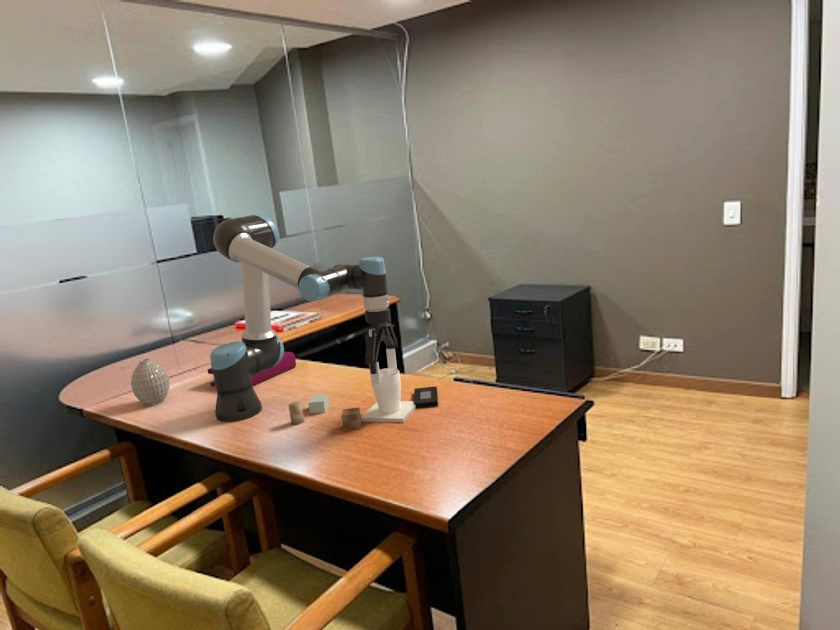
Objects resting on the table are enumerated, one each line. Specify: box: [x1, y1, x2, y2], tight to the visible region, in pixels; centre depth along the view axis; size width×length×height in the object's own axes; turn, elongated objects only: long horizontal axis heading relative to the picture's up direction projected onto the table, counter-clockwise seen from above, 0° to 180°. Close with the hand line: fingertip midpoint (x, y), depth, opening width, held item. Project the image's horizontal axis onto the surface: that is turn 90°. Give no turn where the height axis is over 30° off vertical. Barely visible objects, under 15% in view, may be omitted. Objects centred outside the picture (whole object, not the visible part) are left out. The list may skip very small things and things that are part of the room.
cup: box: [371, 367, 402, 413], centre depth 192 cm, size 9×9×12 cm
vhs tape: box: [413, 385, 439, 410], centre depth 202 cm, size 8×14×2 cm, turn 0°
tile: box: [361, 400, 417, 423], centre depth 194 cm, size 14×14×1 cm
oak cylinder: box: [287, 401, 305, 426], centre depth 195 cm, size 4×4×6 cm
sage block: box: [308, 393, 330, 415], centre depth 204 cm, size 5×7×4 cm
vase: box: [130, 357, 170, 406], centre depth 229 cm, size 13×13×17 cm
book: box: [207, 351, 297, 388], centre depth 249 cm, size 21×28×8 cm
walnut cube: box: [340, 407, 363, 432], centre depth 186 cm, size 5×5×5 cm
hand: (384, 375), depth 192 cm, fingers open, 13 cm apart
